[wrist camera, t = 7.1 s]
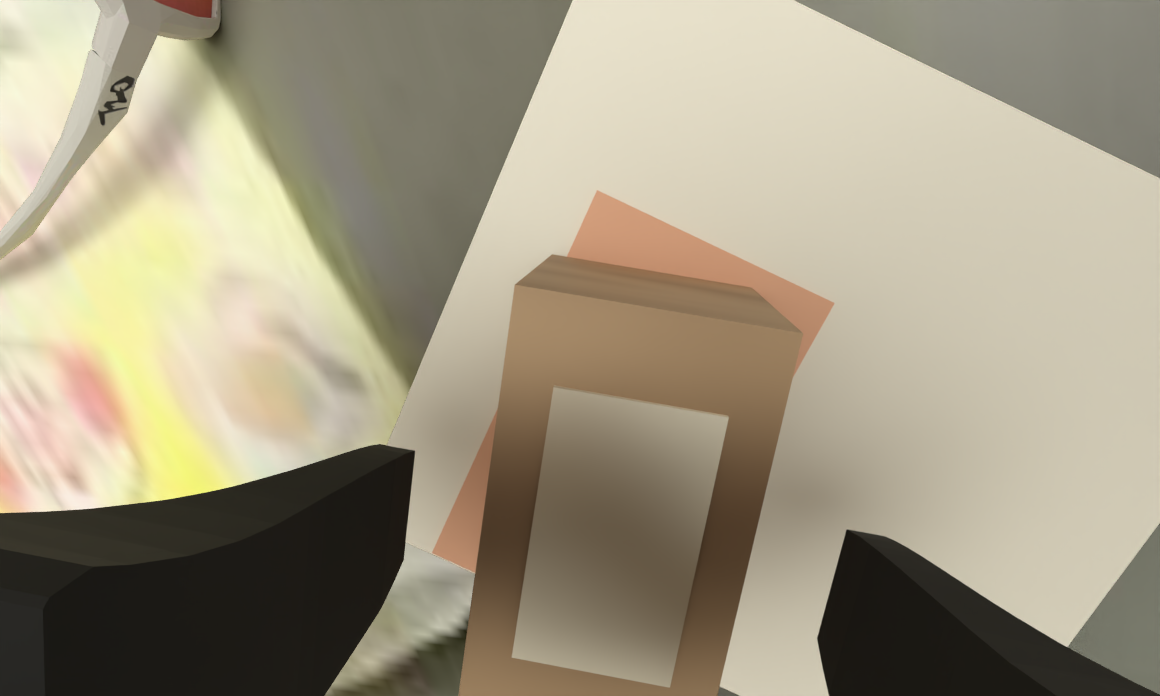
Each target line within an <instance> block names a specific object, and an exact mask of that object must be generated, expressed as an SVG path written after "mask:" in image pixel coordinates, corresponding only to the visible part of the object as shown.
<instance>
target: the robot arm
mask: <svg viewBox="0 0 1160 696" xmlns="http://www.w3.org/2000/svg"><path fill="white" fill-rule="evenodd" d="M414 459H415V451H414V450H408V449H403V448H397V447H392V446H386V445H381V444H379V445H372V446H368V447H364V448H360V449H357V450H353V451H350V452H347V453H344V454H341V455H337V456H334V457H331V458H328V459H325V460H322V461H319V462H316V463H313V464H310V465H307V466H304V467H300V468H297V469H294V470H291V471H287V472H284V473H280V474H277V475H273V476H270V477H266V478H263V479H259V480H256V481H252V482H248V483H245V484H241V485H237V486H233V487H229V488H225V489H220V490H216V491H211V492H207V493H201V494H196V495H191V496H185V497H180V498H175V499H168V500H162V501H155V502H146V503H138V504H129V505H120V506H112V507H103V508H95V509H83V510H68V511H51V512H26V513H0V696H324V695H325V694H326V692H327V691H328V689H329V688H330V686H331V685H332V683H333V682H334V680H335V679H336V677H337V676H338V674H339V672H340V671H341V669H342V668H343V666H344V665H345V663H346V662H347V660H348V659H349V657H350V656H351V654H352V653H353V651H354V650H355V648H356V647H357V645H358V644H359V642H360V641H361V639H362V637H363V636H364V634H365V633H366V631H367V630H368V628H369V627H370V625H371V624H372V622H373V620H374V619H375V617H376V616H377V614H378V612H379V611H380V609H381V607H382V605H383V603H384V601H385V599H386V597H387V595H388V593H389V591H390V589H391V587H392V584H393V582H394V580H395V578H396V576H397V573H398V571H399V569H400V567H401V564H402V562H403V560H404V551H405V541H406V532H407V523H408V514H409V505H410V495H411V486H412V477H413V468H414ZM817 641H818V646H819V652H820V657H821V662H822V667H823V672H824V676H825V681H826V685H827V690H828V694H829V696H1160V695H1159V694H1157V693H1155V692H1153V691H1151V690H1149V689H1147V688H1145V687H1142V686H1140V685H1138V684H1136V683H1134V682H1132V681H1130V680H1128V679H1126V678H1125V677H1123V676H1121V675H1119V674H1117V673H1115V672H1113V671H1111V670H1109V669H1107V668H1105V667H1103V666H1101V665H1099V664H1097V663H1096V662H1094V661H1092V660H1090V659H1088V658H1086V657H1084V656H1082V655H1080V654H1078V653H1077V652H1075V651H1073V650H1071V649H1069V648H1068V647H1066V646H1064V645H1062V644H1061V643H1059V642H1057V641H1055V640H1054V639H1052V638H1050V637H1049V636H1047V635H1045V634H1044V633H1042V632H1040V631H1039V630H1037V629H1035V628H1034V627H1032V626H1030V625H1028V624H1027V623H1025V622H1023V621H1022V620H1020V619H1018V618H1017V617H1015V616H1014V615H1012V614H1010V613H1009V612H1007V611H1006V610H1004V609H1002V608H1001V607H999V606H998V605H996V604H994V603H993V602H991V601H990V600H988V599H987V598H985V597H984V596H982V595H980V594H979V593H977V592H976V591H974V590H973V589H971V588H970V587H968V586H967V585H965V584H964V583H962V582H961V581H959V580H958V579H956V578H955V577H953V576H951V575H950V574H948V573H947V572H945V571H944V570H942V569H941V568H939V567H938V566H936V565H935V564H933V563H932V562H930V561H928V560H927V559H925V558H924V557H922V556H921V555H919V554H917V553H916V552H914V551H912V550H911V549H909V548H907V547H906V546H904V545H902V544H900V543H898V542H896V541H894V540H892V539H890V538H888V537H885V536H881V535H876V534H870V533H865V532H859V531H854V530H848V529H847V530H846V533H845V537H844V541H843V544H842V548H841V552H840V556H839V559H838V563H837V567H836V570H835V574H834V578H833V581H832V585H831V589H830V592H829V596H828V600H827V603H826V607H825V611H824V614H823V618H822V622H821V625H820V629H819V633H818V637H817Z"/></svg>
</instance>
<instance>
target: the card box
mask: <svg viewBox="0 0 1160 696" xmlns="http://www.w3.org/2000/svg"><path fill="white" fill-rule="evenodd" d="M802 337H803V333H802V332H801V331H800V330H799V329H798V328H797V327H796V326H794V325H793V324H792V323H791V322H790V321H789V320H788V319H787V318H785V317H784V316H783V315H782V314H781V313H780V312H779V311H778V310H776V309H775V308H774V307H773V306H772V305H771V304H770V303H769V302H767V301H766V300H765V299H764V298H763V297H762V296H761V295H760V294H758V293H757V292H756V291H755V290H754V289H753V288H751V287H745V286H739V285H733V284H727V283H721V282H715V281H709V280H703V279H697V278H691V277H685V276H679V275H673V274H667V273H661V272H655V271H649V270H643V269H637V268H631V267H625V266H619V265H613V264H607V263H601V262H595V261H589V260H583V259H577V258H571V257H565V256H559V255H553V254H552V255H551V256H549V257H548V258H547V259H546V260H544V261H543V262H542V263H541V264H540V265H538V266H537V267H536V268H535V269H533V270H532V271H531V272H530V273H528V274H527V275H526V276H525V277H524V278H522V279H521V280H520V281H519V282H517V283H516V284H515V286H514V294H513V301H512V308H511V316H510V323H509V330H508V337H507V345H506V352H505V359H504V367H503V374H502V381H501V389H500V396H499V403H498V411H497V418H496V425H495V433H494V440H493V447H492V455H491V462H490V469H489V476H488V484H487V491H486V498H485V506H484V513H483V520H482V528H481V535H480V542H479V550H478V557H477V564H476V572H475V579H474V586H473V593H472V601H471V608H470V615H469V623H468V630H467V637H466V645H465V652H464V659H463V667H462V674H461V681H460V689H459V696H717V695H718V690H719V686H720V682H721V678H722V674H723V669H724V665H725V661H726V657H727V653H728V648H729V644H730V640H731V636H732V631H733V627H734V623H735V619H736V615H737V610H738V606H739V602H740V598H741V594H742V589H743V585H744V581H745V577H746V573H747V568H748V564H749V560H750V556H751V551H752V547H753V543H754V539H755V535H756V530H757V526H758V522H759V518H760V514H761V509H762V505H763V501H764V497H765V492H766V488H767V484H768V480H769V476H770V471H771V467H772V463H773V459H774V455H775V450H776V446H777V442H778V438H779V433H780V429H781V425H782V421H783V417H784V412H785V408H786V404H787V400H788V396H789V391H790V387H791V383H792V379H793V374H794V370H795V366H796V362H797V358H798V353H799V349H800V345H801V341H802Z"/></svg>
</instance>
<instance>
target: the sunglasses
mask: <svg viewBox="0 0 1160 696" xmlns="http://www.w3.org/2000/svg"><path fill="white" fill-rule="evenodd" d="M95 2H96V3H97V5H98V7H99V8H100V10H101V12H100V16H99V19H98V23H97V27H96V30H95V34H94V38H93V41H92V48H93V49H94V50H95V51H94V50H90V51H89V53H88V57H87V61H86V64H85V68H84V72H83V76H82V79H81V82H80V85H79V88H78V91H77V94H76V97H75V100H74V102H73V105H72V108H71V110H70V113H69V116H68V119H67V121H66V124H65V127H64V130H63V132H62V135H61V138H60V140H59V141H58V143H57V145H56V147H55V149H54V151H53V153H52V155H51V157H50V159H49V161H48V163H47V165H46V167H45V169H44V171H43V173H42V175H41V177H40V179H39V181H38V183H37V185H36V187H35V189H34V191H33V192H32V193H31V195H30V196H29V197H28V198H27V199H26V201H25V202H24V203H23V204H22V206H21V207H20V208H19V209H18V210H17V212H16V213H15V214H14V215H13V217H12V218H11V219H10V220H9V221H8V223H7V224H6V225H5V226H4V227H3V229H2V230H1V231H0V260H1V259H2V258H3V257H5V256H6V255H7V254H8V253H10V252H11V251H12V250H13V249H15V248H16V247H17V246H19V245H20V244H21V243H22V242H24V241H25V240H26V239H28V238H29V237H30V236H31V235H33V233H34V232H35V230H36V229H37V227H38V226H39V225H40V223H41V222H42V220H43V219H44V217H45V216H46V214H47V213H48V212H49V210H50V209H51V207H52V206H53V204H54V203H55V202H56V200H57V199H58V197H59V196H60V194H61V193H62V191H63V190H64V189H65V187H66V186H67V184H68V183H69V181H70V180H71V179H72V177H73V176H74V175H75V174H76V172H77V171H78V170H79V169H80V167H81V166H82V165H83V164H84V163H85V161H86V160H87V159H88V158H89V156H90V155H91V154H92V153H93V152H94V150H95V149H96V148H97V147H98V146H99V145H100V143H101V142H102V141H103V140H104V139H105V138H106V136H107V135H108V134H109V133H110V132H111V131H112V130H113V128H114V127H115V126H116V125H117V124H118V123H119V121H120V120H121V119H122V118H123V117H124V116H125V115H126V113H127V112H128V108H129V105H130V101H131V98H132V94H133V91H134V88H135V84H136V81H137V78H138V76H139V74H140V72H141V70H142V68H143V65H144V63H145V61H146V59H147V57H148V55H149V52H150V50H151V48H152V46H153V44H154V41H155V39H156V37H157V35H159V36H163V37H168V38H174V39H180V40H194V39H204V38H209V37H212V35H213V34H214V33H215V32H216V31H217V30H218V29H219V25H220V21H221V0H95Z"/></svg>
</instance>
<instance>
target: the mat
mask: <svg viewBox="0 0 1160 696" xmlns="http://www.w3.org/2000/svg"><path fill="white" fill-rule="evenodd" d="M552 254H553V255H559V256H565V257H571V258H577V259H583V260H589V261H595V262H601V263H607V264H613V265H619V266H625V267H631V268H637V269H643V270H649V271H655V272H661V273H667V274H673V275H679V276H685V277H691V278H697V279H703V280H709V281H715V282H721V283H727V284H733V285H739V286H745V287H751V288H753V289H754V290H755V291H756V292H757V293H758V294H760V295H761V296H762V297H763V298H764V299H765V300H766V301H767V302H769V303H770V304H771V305H772V306H773V307H774V308H775V309H776V310H778V311H779V312H780V313H781V314H782V315H783V316H784V317H785V318H787V319H788V320H789V321H790V322H791V323H792V324H793V325H794V326H796V327H797V328H798V329H799V330H800V331H801V332H802V333H803V337H802V341H801V345H800V349H799V353H798V358H797V362H796V366H795V370H794V374H793V379H792V383H791V387H790V391H789V396H788V400H787V404H786V408H785V412H784V417H783V421H782V425H781V429H780V433H779V438H778V442H777V446H776V450H775V455H774V459H773V463H772V467H771V471H770V476H769V480H768V484H767V488H766V492H765V497H764V501H763V505H762V509H761V514H760V518H759V522H758V526H757V530H756V535H755V539H754V543H753V547H752V551H751V556H750V560H749V564H748V568H747V573H746V577H745V581H744V585H743V589H742V594H741V598H740V602H739V606H738V610H737V615H736V619H735V623H734V627H733V631H732V636H731V640H730V644H729V648H728V653H727V657H726V661H725V665H724V669H723V674H722V678H721V682H720V687H722V688H724V689H727V690H729V691H731V692H733V693H735V694H737V695H740V696H829V694H828V690H827V685H826V681H825V676H824V672H823V667H822V662H821V657H820V652H819V646H818V641H817V637H818V633H819V629H820V625H821V622H822V618H823V614H824V611H825V607H826V603H827V600H828V596H829V592H830V589H831V585H832V581H833V578H834V574H835V570H836V567H837V563H838V559H839V556H840V552H841V548H842V544H843V541H844V537H845V533H846V530H847V529H848V530H854V531H859V532H865V533H870V534H876V535H881V536H885V537H888V538H890V539H892V540H894V541H896V542H898V543H900V544H902V545H904V546H906V547H907V548H909V549H911V550H912V551H914V552H916V553H917V554H919V555H921V556H922V557H924V558H925V559H927V560H928V561H930V562H932V563H933V564H935V565H936V566H938V567H939V568H941V569H942V570H944V571H945V572H947V573H948V574H950V575H951V576H953V577H955V578H956V579H958V580H959V581H961V582H962V583H964V584H965V585H967V586H968V587H970V588H971V589H973V590H974V591H976V592H977V593H979V594H980V595H982V596H984V597H985V598H987V599H988V600H990V601H991V602H993V603H994V604H996V605H998V606H999V607H1001V608H1002V609H1004V610H1006V611H1007V612H1009V613H1010V614H1012V615H1014V616H1015V617H1017V618H1018V619H1020V620H1022V621H1023V622H1025V623H1027V624H1028V625H1030V626H1032V627H1034V628H1035V629H1037V630H1039V631H1040V632H1042V633H1044V634H1045V635H1047V636H1049V637H1050V638H1052V639H1054V640H1055V641H1057V642H1059V643H1061V644H1062V645H1064V646H1066V647H1068V645H1069V644H1070V643H1071V641H1072V640H1073V639H1074V637H1075V636H1076V635H1077V633H1078V632H1079V631H1080V629H1081V628H1082V627H1083V625H1084V624H1085V623H1086V621H1087V620H1088V618H1089V617H1090V616H1091V614H1092V613H1093V612H1094V610H1095V609H1096V608H1097V606H1098V605H1099V604H1100V602H1101V601H1102V600H1103V598H1104V597H1105V596H1106V594H1107V593H1108V592H1109V590H1110V589H1111V588H1112V586H1113V585H1114V584H1115V582H1116V581H1117V580H1118V578H1119V577H1120V576H1121V574H1122V573H1123V572H1124V570H1125V569H1126V567H1127V566H1128V565H1129V563H1130V562H1131V561H1132V559H1133V558H1134V557H1135V555H1136V554H1137V553H1138V551H1139V550H1140V549H1141V547H1142V546H1143V545H1144V543H1145V542H1146V541H1147V539H1148V538H1149V537H1150V535H1151V534H1152V533H1153V531H1154V530H1155V529H1156V527H1157V526H1158V525H1159V523H1160V178H1158V177H1156V176H1154V175H1152V174H1149V173H1147V172H1145V171H1143V170H1141V169H1139V168H1137V167H1135V166H1133V165H1131V164H1129V163H1127V162H1125V161H1123V160H1121V159H1119V158H1117V157H1115V156H1112V155H1110V154H1108V153H1106V152H1104V151H1102V150H1100V149H1098V148H1096V147H1094V146H1092V145H1090V144H1088V143H1086V142H1084V141H1082V140H1080V139H1078V138H1075V137H1073V136H1071V135H1069V134H1067V133H1065V132H1063V131H1061V130H1059V129H1057V128H1055V127H1053V126H1051V125H1049V124H1047V123H1045V122H1043V121H1041V120H1038V119H1036V118H1034V117H1032V116H1030V115H1028V114H1026V113H1024V112H1022V111H1020V110H1018V109H1016V108H1014V107H1012V106H1010V105H1008V104H1006V103H1003V102H1001V101H999V100H997V99H995V98H993V97H991V96H989V95H987V94H985V93H983V92H981V91H979V90H977V89H975V88H973V87H971V86H969V85H966V84H964V83H962V82H960V81H958V80H956V79H954V78H952V77H950V76H948V75H946V74H944V73H942V72H940V71H938V70H936V69H934V68H932V67H929V66H927V65H925V64H923V63H921V62H919V61H917V60H915V59H913V58H911V57H909V56H907V55H905V54H903V53H901V52H899V51H897V50H895V49H892V48H890V47H888V46H886V45H884V44H882V43H880V42H878V41H876V40H874V39H872V38H870V37H868V36H866V35H864V34H862V33H860V32H858V31H855V30H853V29H851V28H849V27H847V26H845V25H843V24H841V23H839V22H837V21H835V20H833V19H831V18H829V17H827V16H825V15H823V14H820V13H818V12H816V11H814V10H812V9H810V8H808V7H806V6H804V5H802V4H800V3H798V2H796V1H794V0H573V1H572V4H571V6H570V8H569V11H568V13H567V16H566V18H565V20H564V23H563V25H562V28H561V30H560V32H559V35H558V37H557V40H556V42H555V44H554V47H553V49H552V51H551V54H550V56H549V59H548V61H547V63H546V66H545V68H544V71H543V73H542V75H541V78H540V80H539V83H538V85H537V87H536V90H535V92H534V95H533V97H532V99H531V102H530V104H529V106H528V109H527V111H526V114H525V116H524V118H523V121H522V123H521V126H520V128H519V130H518V133H517V135H516V138H515V140H514V142H513V145H512V147H511V149H510V152H509V154H508V157H507V159H506V161H505V164H504V166H503V169H502V171H501V173H500V176H499V178H498V181H497V183H496V185H495V188H494V190H493V192H492V195H491V197H490V200H489V202H488V204H487V207H486V209H485V212H484V214H483V216H482V219H481V221H480V224H479V226H478V228H477V231H476V233H475V235H474V238H473V240H472V243H471V245H470V247H469V250H468V252H467V255H466V257H465V259H464V262H463V264H462V267H461V269H460V271H459V274H458V276H457V278H456V281H455V283H454V286H453V288H452V290H451V293H450V295H449V298H448V300H447V302H446V305H445V307H444V310H443V312H442V314H441V317H440V319H439V321H438V324H437V326H436V329H435V331H434V333H433V336H432V338H431V341H430V343H429V345H428V348H427V350H426V353H425V355H424V357H423V360H422V362H421V364H420V367H419V369H418V372H417V374H416V376H415V379H414V381H413V384H412V386H411V388H410V391H409V393H408V396H407V398H406V400H405V403H404V405H403V407H402V410H401V412H400V415H399V417H398V419H397V422H396V424H395V427H394V429H393V431H392V434H391V436H390V439H389V441H388V443H387V446H392V447H397V448H403V449H408V450H414V451H415V459H414V468H413V477H412V486H411V495H410V505H409V514H408V523H407V532H406V541H405V542H406V543H408V544H410V545H413V546H415V547H417V548H419V549H421V550H423V551H426V552H428V553H430V554H432V555H434V556H436V557H439V558H441V559H443V560H445V561H447V562H450V563H452V564H454V565H456V566H458V567H460V568H463V569H465V570H467V571H469V572H471V573H474V574H475V572H476V564H477V557H478V550H479V542H480V535H481V528H482V520H483V513H484V506H485V498H486V491H487V484H488V476H489V469H490V462H491V455H492V447H493V440H494V433H495V425H496V418H497V411H498V403H499V396H500V389H501V381H502V374H503V367H504V359H505V352H506V345H507V337H508V330H509V323H510V316H511V308H512V301H513V294H514V286H515V284H516V283H517V282H519V281H520V280H521V279H522V278H524V277H525V276H526V275H527V274H528V273H530V272H531V271H532V270H533V269H535V268H536V267H537V266H538V265H540V264H541V263H542V262H543V261H544V260H546V259H547V258H548V257H549V256H551V255H552Z"/></svg>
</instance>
